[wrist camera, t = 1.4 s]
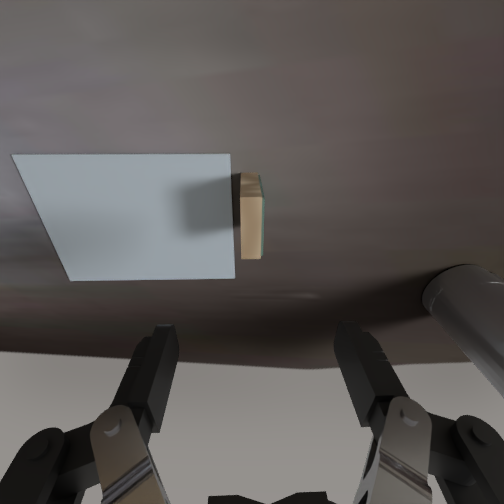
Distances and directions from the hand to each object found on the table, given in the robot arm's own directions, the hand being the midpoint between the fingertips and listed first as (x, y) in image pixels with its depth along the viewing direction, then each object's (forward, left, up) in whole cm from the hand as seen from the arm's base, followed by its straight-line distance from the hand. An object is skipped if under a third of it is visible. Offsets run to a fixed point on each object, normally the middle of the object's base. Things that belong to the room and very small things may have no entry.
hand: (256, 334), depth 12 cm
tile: (0, 0, -19) cm, 19 cm away
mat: (+13, +3, -19) cm, 24 cm away
